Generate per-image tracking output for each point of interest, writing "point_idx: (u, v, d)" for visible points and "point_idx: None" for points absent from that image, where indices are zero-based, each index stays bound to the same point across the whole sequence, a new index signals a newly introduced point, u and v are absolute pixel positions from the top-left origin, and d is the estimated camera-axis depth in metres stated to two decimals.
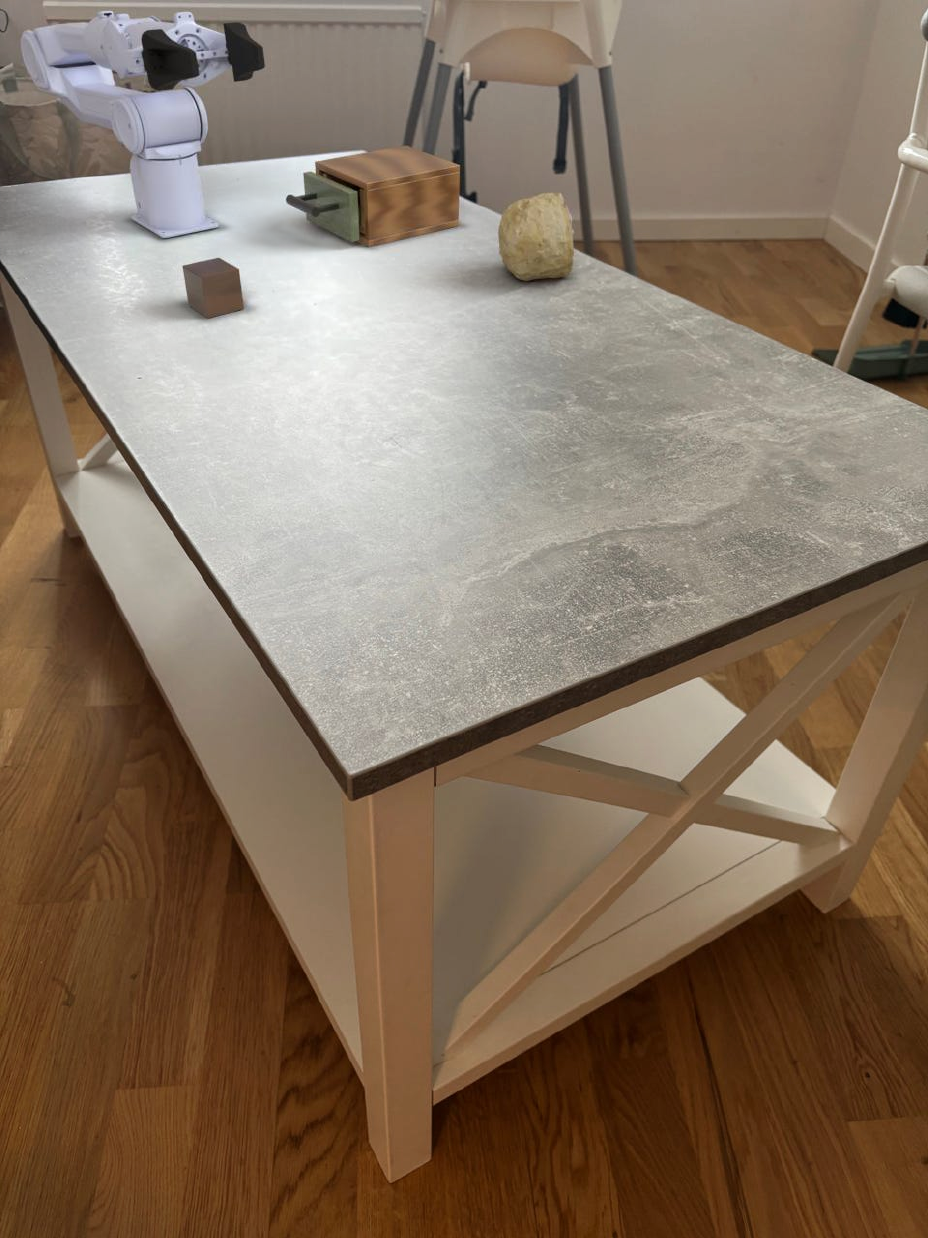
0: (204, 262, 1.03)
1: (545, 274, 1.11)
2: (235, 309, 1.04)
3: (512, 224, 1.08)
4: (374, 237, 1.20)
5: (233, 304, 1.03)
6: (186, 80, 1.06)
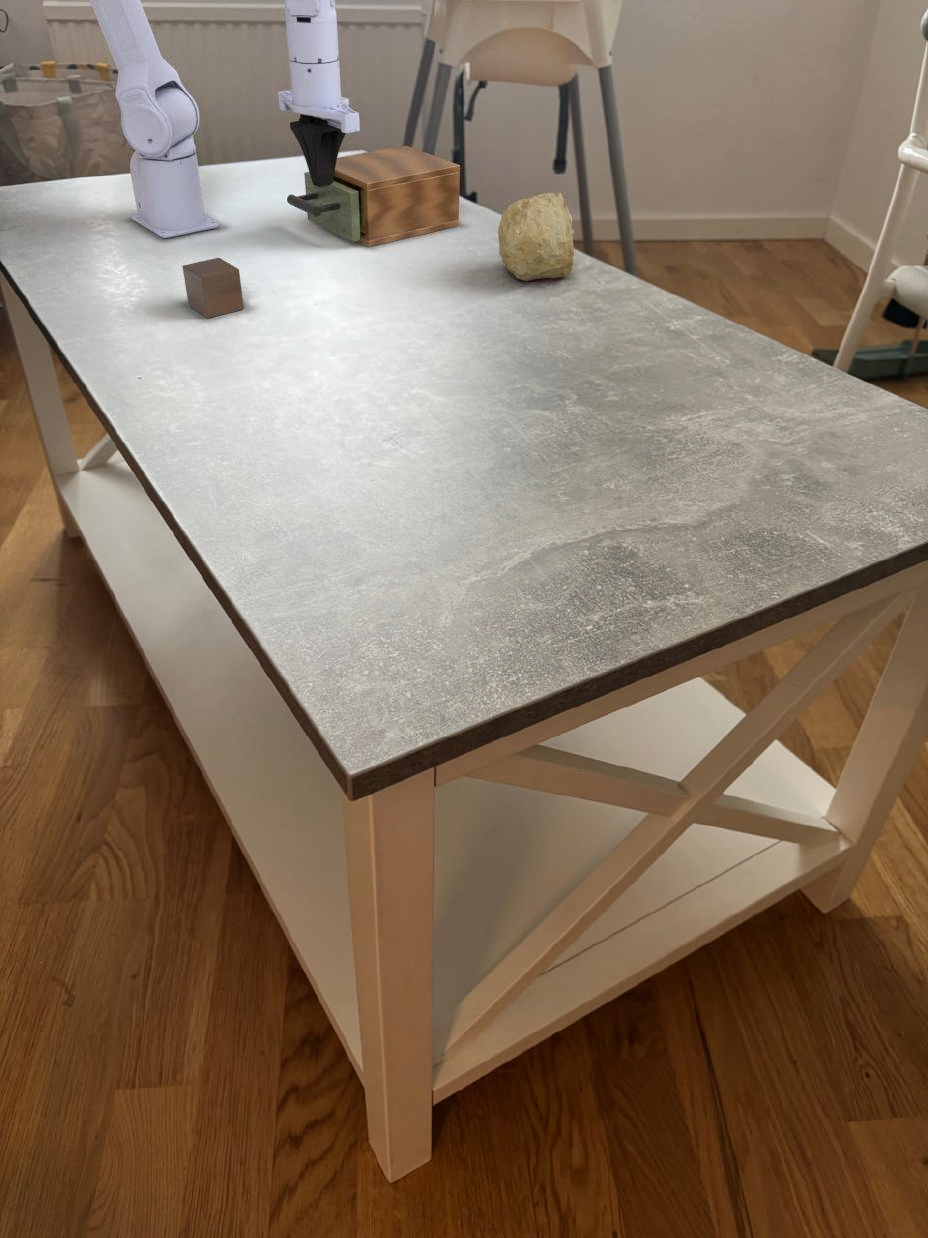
0: (204, 262, 1.03)
1: (545, 274, 1.11)
2: (235, 309, 1.04)
3: (512, 224, 1.08)
4: (374, 237, 1.20)
5: (233, 304, 1.03)
6: None
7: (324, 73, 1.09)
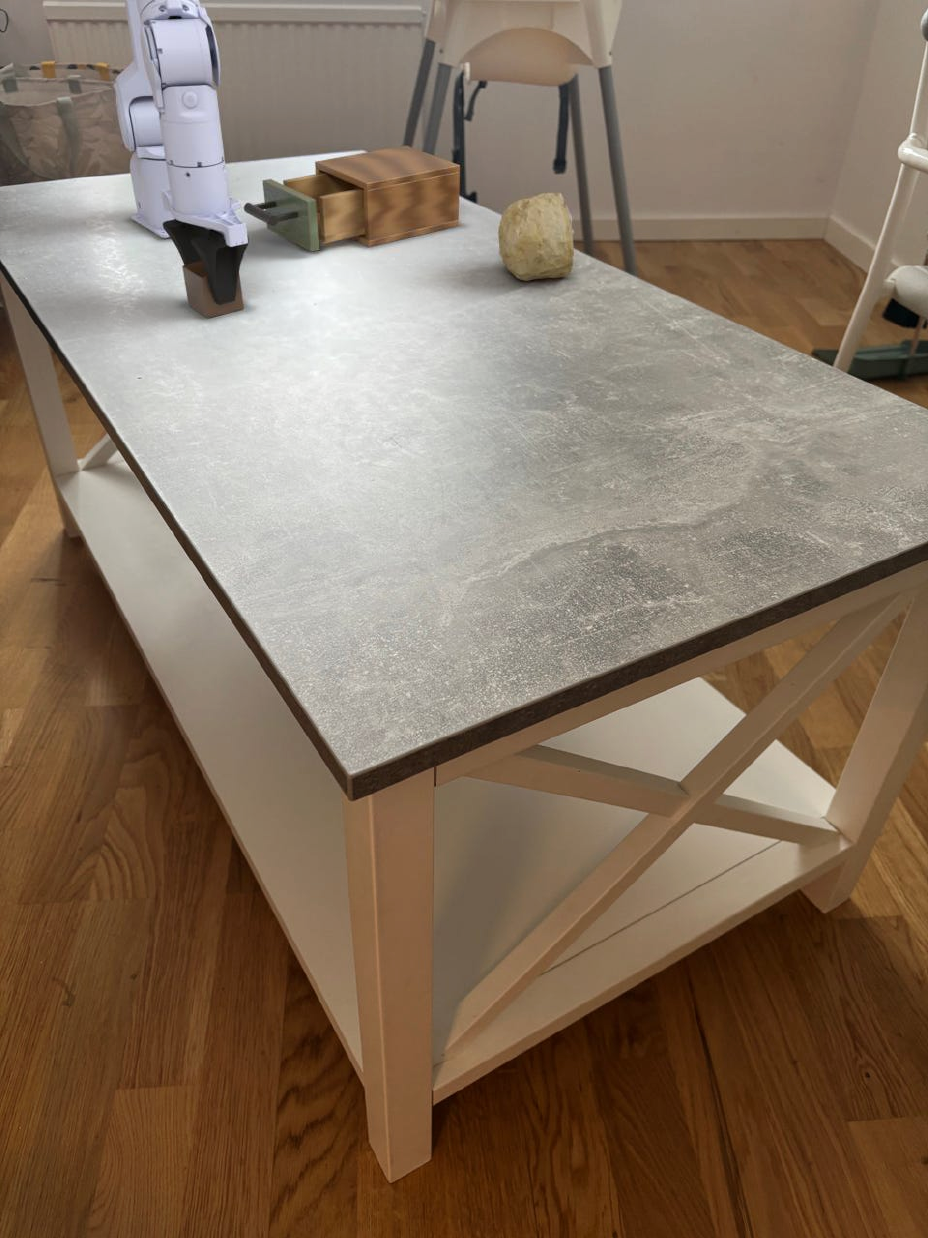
0: None
1: (545, 274, 1.11)
2: (235, 309, 1.04)
3: (512, 224, 1.08)
4: (374, 237, 1.20)
5: (233, 304, 1.03)
6: None
7: (205, 178, 0.94)
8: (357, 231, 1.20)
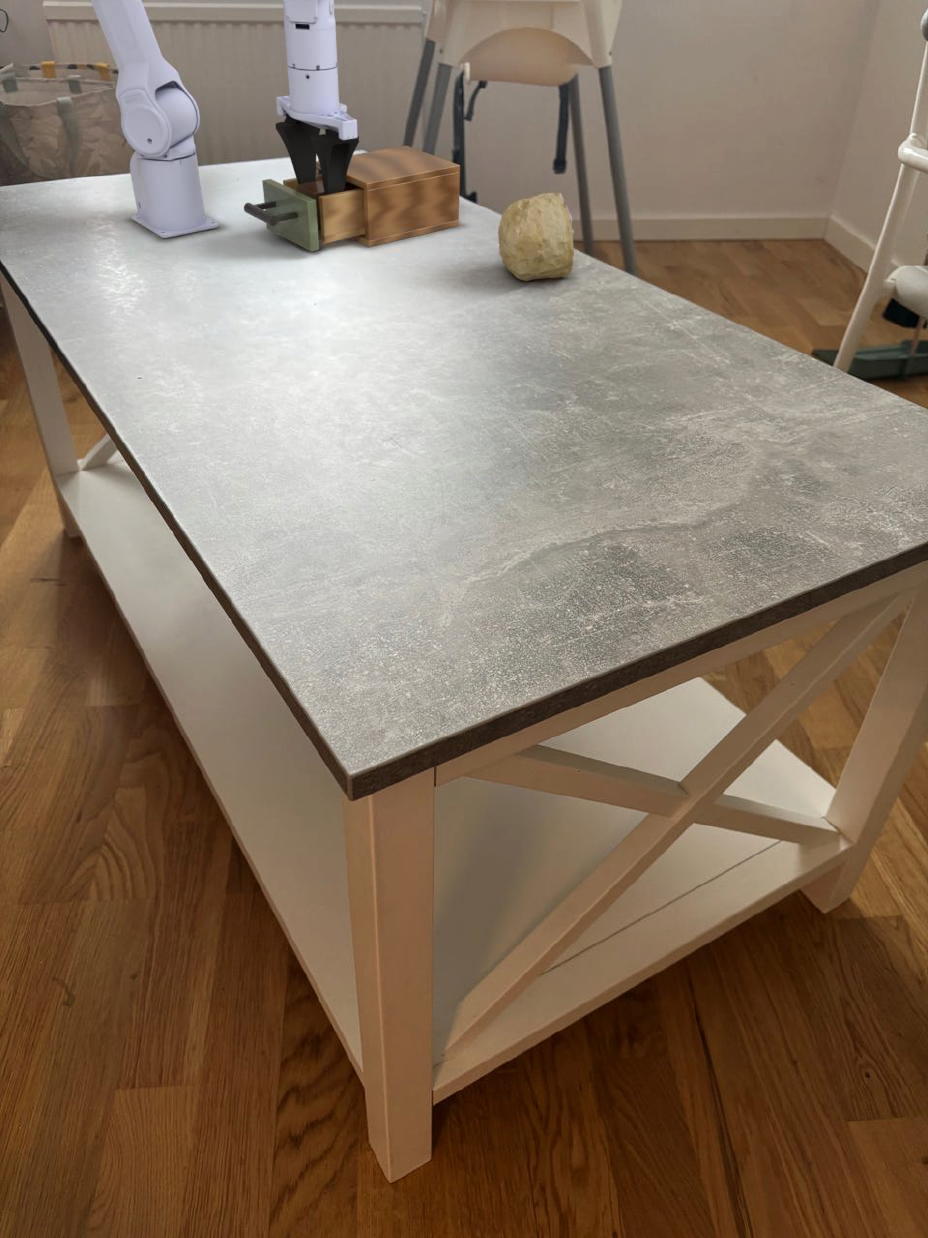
0: (314, 182, 1.19)
1: (545, 274, 1.11)
2: None
3: (512, 224, 1.08)
4: (374, 237, 1.20)
5: None
6: None
7: (322, 80, 1.09)
8: (357, 231, 1.20)
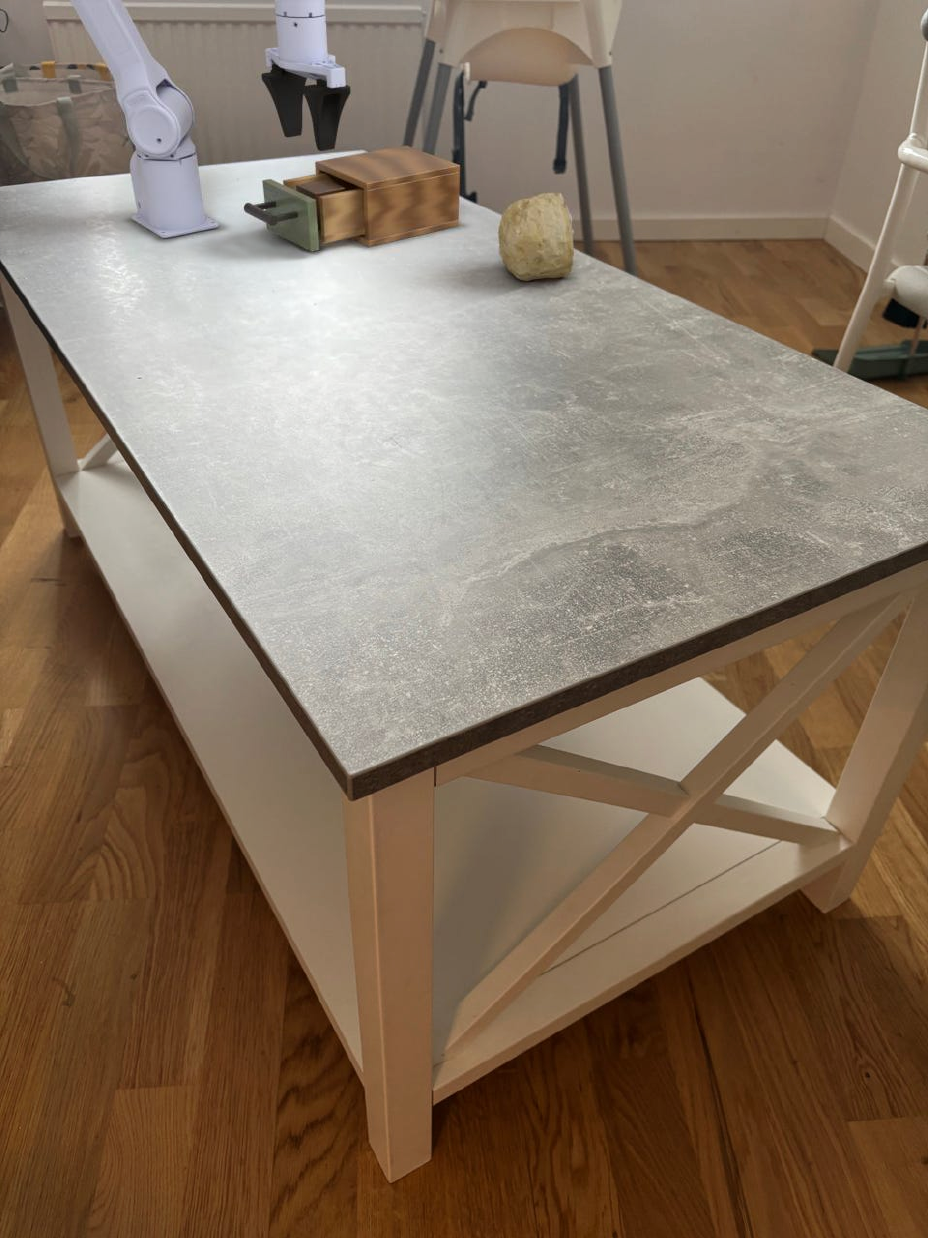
0: (314, 182, 1.19)
1: (545, 274, 1.11)
2: None
3: (512, 224, 1.08)
4: (374, 237, 1.20)
5: None
6: None
7: (310, 28, 1.09)
8: (357, 232, 1.20)
